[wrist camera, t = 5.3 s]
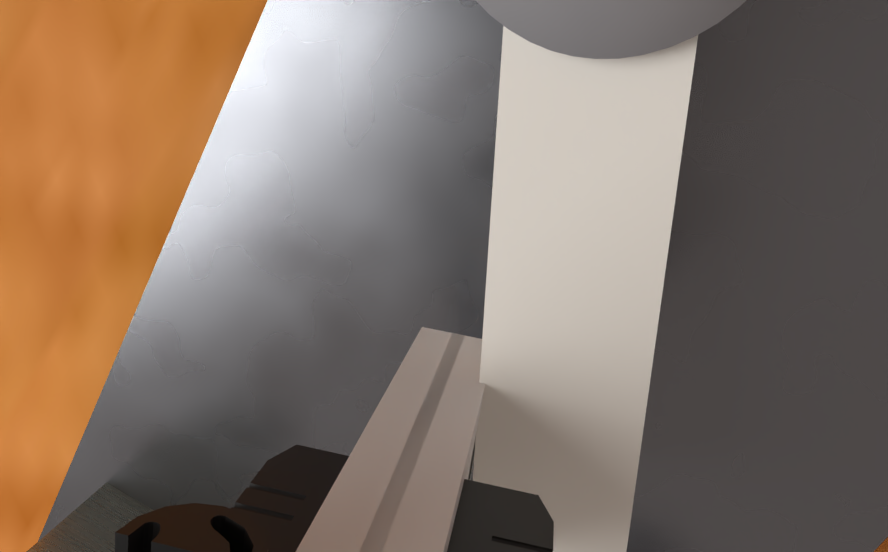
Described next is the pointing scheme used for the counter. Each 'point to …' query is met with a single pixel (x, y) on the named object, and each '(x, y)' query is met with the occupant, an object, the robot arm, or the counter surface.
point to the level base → (465, 268)
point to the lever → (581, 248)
